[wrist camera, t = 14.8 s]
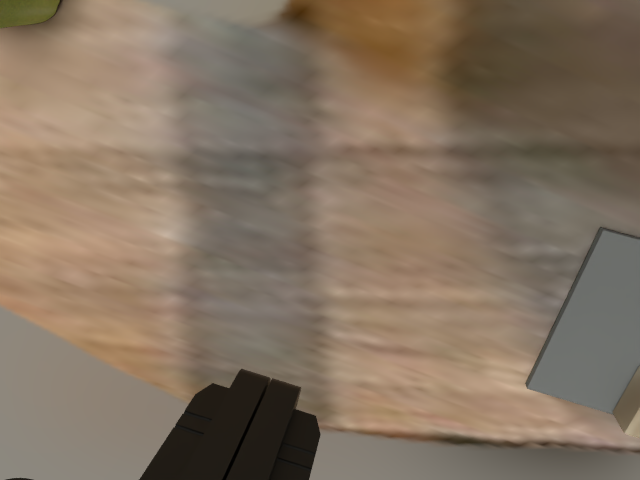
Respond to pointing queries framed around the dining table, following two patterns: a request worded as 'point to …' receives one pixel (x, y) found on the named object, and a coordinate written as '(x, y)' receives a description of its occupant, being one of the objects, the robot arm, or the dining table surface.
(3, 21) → the plant pot
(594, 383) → the mat
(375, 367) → the dining table surface
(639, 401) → the tile
